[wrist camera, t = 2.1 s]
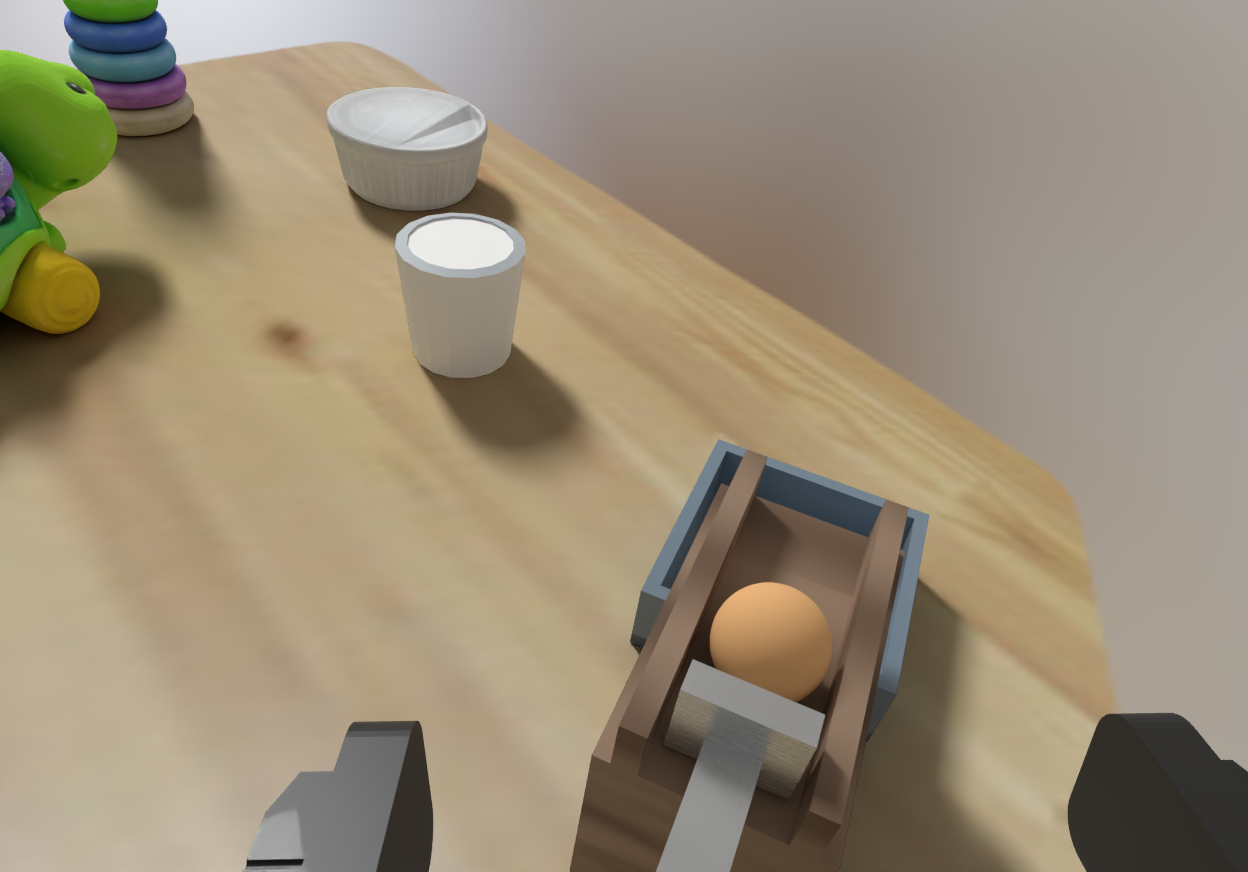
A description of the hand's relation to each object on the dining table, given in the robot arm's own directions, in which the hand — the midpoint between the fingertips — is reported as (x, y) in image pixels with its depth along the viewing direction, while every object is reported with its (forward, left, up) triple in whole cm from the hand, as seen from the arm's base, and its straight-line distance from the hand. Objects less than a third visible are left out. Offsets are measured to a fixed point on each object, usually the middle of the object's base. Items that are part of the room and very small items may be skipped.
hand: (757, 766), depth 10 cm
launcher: (+10, +6, -21) cm, 24 cm away
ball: (+9, +5, -11) cm, 15 cm away
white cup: (+15, +33, -21) cm, 42 cm away
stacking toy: (+8, +71, -21) cm, 75 cm away
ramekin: (+22, +53, -21) cm, 61 cm away
